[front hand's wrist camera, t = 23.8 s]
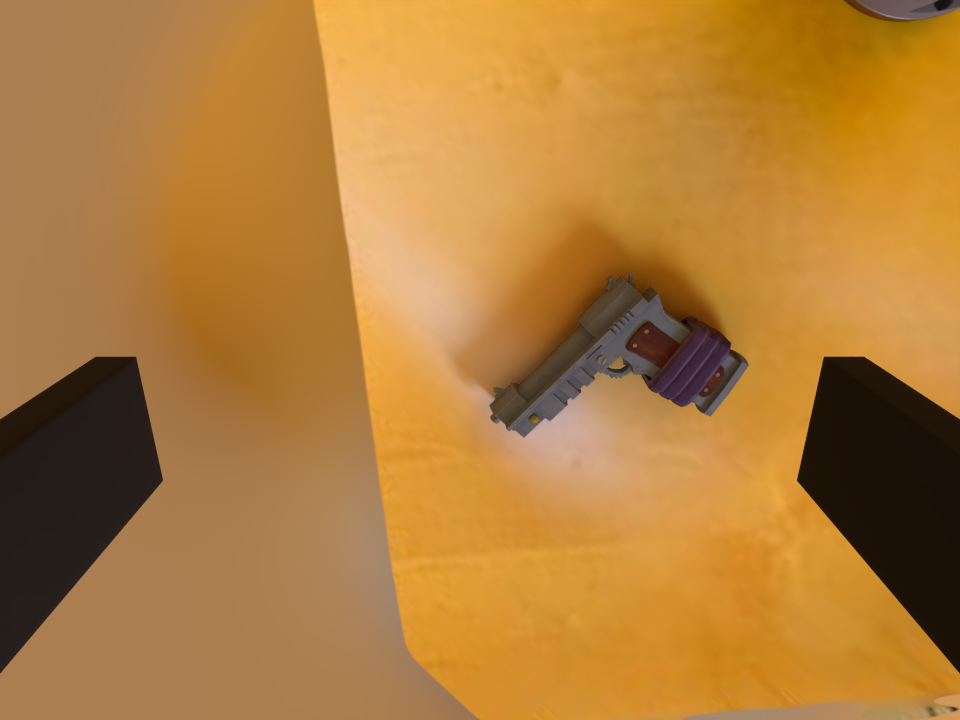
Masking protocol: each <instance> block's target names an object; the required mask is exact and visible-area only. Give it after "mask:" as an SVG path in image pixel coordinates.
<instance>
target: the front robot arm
mask: <svg viewBox="0 0 960 720" xmlns="http://www.w3.org/2000/svg"><path fill="white" fill-rule="evenodd" d="M845 1H846V2H847V3H848V4H849V5H851V6H852V7H854V8H855V9H857V10H858V11H860V12H862V13H864V14H866V15H868V16H871V17H874V18H877V19H881V20H886V21H896V22H902V21H914V20H921V19H926V18H931V17H935V16H939V15H943V14H946V13H949V12H952V11H954V10H956V9H958V8H960V0H845ZM162 481H163V478H162V474H161V469H160V465H159V460H158V456H157V451H156V446H155V442H154V437H153V432H152V428H151V423H150V419H149V414H148V410H147V405H146V400H145V396H144V391H143V387H142V382H141V377H140V373H139V368H138V364H137V359H136V357H95V358H93V359H92V360H90V361H89V362H87V363H86V364H84V365H83V366H81V367H79V368H78V369H76V370H75V371H74V372H72V373H70V374H69V375H67V376H66V377H64V378H63V379H61V380H60V381H58V382H57V383H55V384H54V385H52V386H50V387H49V388H47V389H46V390H44V391H43V392H41V393H40V394H38V395H37V396H35V397H34V398H32V399H31V400H29V401H28V402H26V403H25V404H23V405H21V406H20V407H18V408H17V409H15V410H14V411H12V412H11V413H9V414H8V415H6V416H5V417H3V418H2V419H0V673H1V672H2V671H3V669H4V668H5V667H6V666H7V665H8V664H9V662H10V661H11V660H12V659H13V658H14V656H15V655H16V654H17V653H18V652H19V651H20V649H21V648H22V647H23V646H24V645H25V643H26V642H27V641H28V640H29V639H30V637H31V636H32V635H33V634H34V633H35V632H36V630H37V629H38V628H39V627H40V626H41V624H42V623H43V622H44V621H45V620H46V619H47V617H48V616H49V615H50V614H51V613H52V611H53V610H54V609H55V608H56V607H57V605H58V604H59V603H60V602H61V601H62V600H63V598H64V597H65V596H66V595H67V594H68V592H69V591H70V590H71V589H72V588H73V587H74V585H75V584H76V583H77V582H78V581H79V579H80V578H81V577H82V576H83V575H84V574H85V572H86V571H87V570H88V569H89V568H90V566H91V565H92V564H93V563H94V562H95V561H96V559H97V558H98V557H99V556H100V555H101V553H102V552H103V551H104V550H105V549H106V547H107V546H108V545H109V544H110V543H111V542H112V540H113V539H114V538H115V537H116V536H117V534H118V533H119V532H120V531H121V530H122V529H123V527H124V526H125V525H126V524H127V523H128V521H129V520H130V519H131V518H132V517H133V515H134V514H135V513H136V512H137V511H138V510H139V508H140V507H141V506H142V505H143V504H144V502H145V501H146V500H147V499H148V498H149V497H150V495H151V494H152V493H153V492H154V491H155V489H156V488H157V487H158V486H159V485H160V484H161V482H162ZM797 481H798V482H799V484H800V485H801V486H802V487H803V488H804V489H805V491H806V492H807V493H808V494H809V495H810V497H811V498H812V499H813V500H814V501H815V502H816V504H817V505H818V506H819V507H820V508H821V510H822V511H823V512H824V513H825V514H826V516H827V517H828V518H829V519H830V520H831V521H832V523H833V524H834V525H835V526H836V527H837V529H838V530H839V531H840V532H841V533H842V534H843V536H844V537H845V538H846V539H847V540H848V542H849V543H850V544H851V545H852V546H853V547H854V549H855V550H856V551H857V552H858V553H859V555H860V556H861V557H862V558H863V559H864V561H865V562H866V563H867V564H868V565H869V566H870V568H871V569H872V570H873V571H874V572H875V574H876V575H877V576H878V577H879V578H880V579H881V581H882V582H883V583H884V584H885V585H886V587H887V588H888V589H889V590H890V591H891V592H892V594H893V595H894V596H895V597H896V598H897V600H898V601H899V602H900V603H901V604H902V606H903V607H904V608H905V609H906V610H907V611H908V613H909V614H910V615H911V616H912V617H913V619H914V620H915V621H916V622H917V623H918V624H919V626H920V627H921V628H922V629H923V630H924V632H925V633H926V634H927V635H928V636H929V637H930V639H931V640H932V641H933V642H934V643H935V645H936V646H937V647H938V648H939V649H940V651H941V652H942V653H943V654H944V655H945V656H946V658H947V659H948V660H949V661H950V662H951V664H952V665H953V666H954V667H955V668H956V669H957V671H958V672H959V673H960V419H958V418H957V417H955V416H954V415H952V414H951V413H949V412H948V411H946V410H945V409H943V408H942V407H940V406H939V405H937V404H935V403H934V402H932V401H931V400H929V399H928V398H926V397H925V396H923V395H922V394H920V393H919V392H917V391H916V390H914V389H913V388H911V387H910V386H908V385H906V384H905V383H903V382H902V381H900V380H899V379H897V378H896V377H894V376H893V375H891V374H890V373H888V372H887V371H885V370H884V369H882V368H881V367H879V366H877V365H876V364H874V363H873V362H871V361H870V360H868V359H867V358H865V357H824V359H823V364H822V368H821V373H820V377H819V382H818V387H817V391H816V396H815V400H814V405H813V410H812V414H811V419H810V423H809V428H808V432H807V437H806V442H805V446H804V451H803V455H802V460H801V465H800V469H799V474H798V478H797Z"/></svg>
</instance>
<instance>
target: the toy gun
mask: <svg viewBox="0 0 960 720" xmlns="http://www.w3.org/2000/svg"><path fill="white" fill-rule="evenodd" d="M607 280H608V283H607V285H606V286H605V287H606V289H607V290H606V291H605V292H604V293H603V294H602V295H601V296H600V297H599V298H598V299H597V300H596V301H595V302H594V303H593V304H592V305H591V306H590V307H589V308H588V309H587V310H586V311H585V312H584V313H583V314H582V315H581V316H580V317H579V318H578V320H579V322H580V323H581V325H580V326H579V327H578V328H577V329H576V330H575V331H574V332H573V333H572V334H571V335H570V336H569V337H568V338H567V339H566V340H565V341H564V342H563V343H562V344H561V345H560V346H559V347H558V348H557V349H556V350H555V351H554V352H553V353H552V354H551V355H550V356H549V357H548V358H547V359H546V360H545V361H544V362H543V363H542V364H541V365H540V366H539V367H538V368H536V369H535V370H534V371H533V372H532V373H531V374H530V375H529V376H528V377H527V378H526V379H525V380H524V381H523V382H522V383H521V384H520V385H518V384H517V383H512V384H511V385H510V386H509V387H508V388H507V389H501V388H495V387H494V388H493V389H494V392H496V393H498V394H497V395H495V398H496V400H495V401H494V402H492V403H491V404H490V405H489V406H490V408H491V410H492V412H493V413H494V414H492V415H491V417H490V418H491V420H492V421H493V422H494V423H496V424H497V423H499V422H500V421H502V422H503V423H504V424H506V428H507V430H508V431H510V430H511V429H512V430H513V431H514V430H515V431H516V432H518V433H519V434H520V435H521V436H522V437H525V436H526V435H528V434H529V433H530V432H531V431H532V430H533V429H534V428H535V427H536V426H537V425H538V424H539V423H540V422H541V421H542V420H543V419H545V418H546V419H548V420H549V421H551V420H552V419H553V418H554V417H555V416H556V415H557V414H558V413H559V412H561V411H562V410H563V409H564V408H565V407H566V406H567V400H568V399H569V398H572V399H574V398H576V397H577V396H578V395H579V394H580V393H581V389H580V388H581V387H582V386H583V385H585V386H588V385H589V384H591V383H592V382H593V381H594V380H595V377H594V375H595V374H596V373H597V372H598V371H599V372H600V373H602V372H603V373H605V374H606V375H609V374H610V377H611V378H613V377H614V376H615V378H617V377H618V376H619V377H620V378H622V377H623V376H625V375H628V374H629V373H630V372H631V371H632V372H633V374H636V375H641V374H642V378H643V379H644V381H645V383H646V384H647V386H648V388H649V389H650V390H651V391H653V392H655V393H659V394H660V395H661V396H662V397H664V398H666V399H668V400H670V399H671V400H672V402H673V403H675V404H677V405H679V406H681V407H684V406H686V405H688V404H690V403H691V402H693V403H695V405H696V407H697V409H698V410H699V411H700V412H702V413H704V414H706V415H708V416H711V415H712V414H713V413H714V411H715V410H716V409H717V408H718V406H719V405H720V404H721V403H722V401H723V400H724V399H725V398H726V396H727V395H728V394H729V393H730V391H731V390H732V388H733V387H734V386H735V384H736V383H737V381H738V380H739V378H740V377H741V376H742V374H743V373H744V371H745V370H746V368H747V367H748V366H749V365H748V363H747V360H746V359H745V358H744V357H743V356H742V355H741V354H739V353H737V352H735V351H733V350H730V347H731V342H730V341H729V340H728V339H727V338H725V337H724V336H723V335H722V334H721V333H720V332H719V331H717V330H715V329H713V328H711V327H709V326H708V325H706V324H705V323H703V322H701V321H698V320H697V319H696V318H694V317H691V316H690V317H687V318H685V319H684V320H683V321H682V322H680V321H679V320H677V319H676V318H675V317H673V316H672V315H670V314H669V313H667V312H666V311H665V310H663V306H662V303H661V300H660V297H659V295H658V294H657V293H656V292H655V291H654V290H653V289H652V288H651V287H649V288H648V289H647V290H646V291H645V292H644V293H643V294H641V293H640V292H639V291H638V290H637V289H636V288H635V287H634V286H635V284H634V282H633V277H632V273H631V272H629V282H628V281H627V280H626V279H625V278H624V277H623V276H621V277H620V278H619V279H618V280H617V281H615V280H614V279H613V278H612V277H611V276H609V277H608V278H607ZM619 356H621V357H622V359H623V361H624V362H623V365H625V366H624V367H623V368H621V369H611V368H608V367H609V366H610V365H611V364H612V363H613V362H614V361H615V360H616V359H617V358H618V357H619Z"/></svg>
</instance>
